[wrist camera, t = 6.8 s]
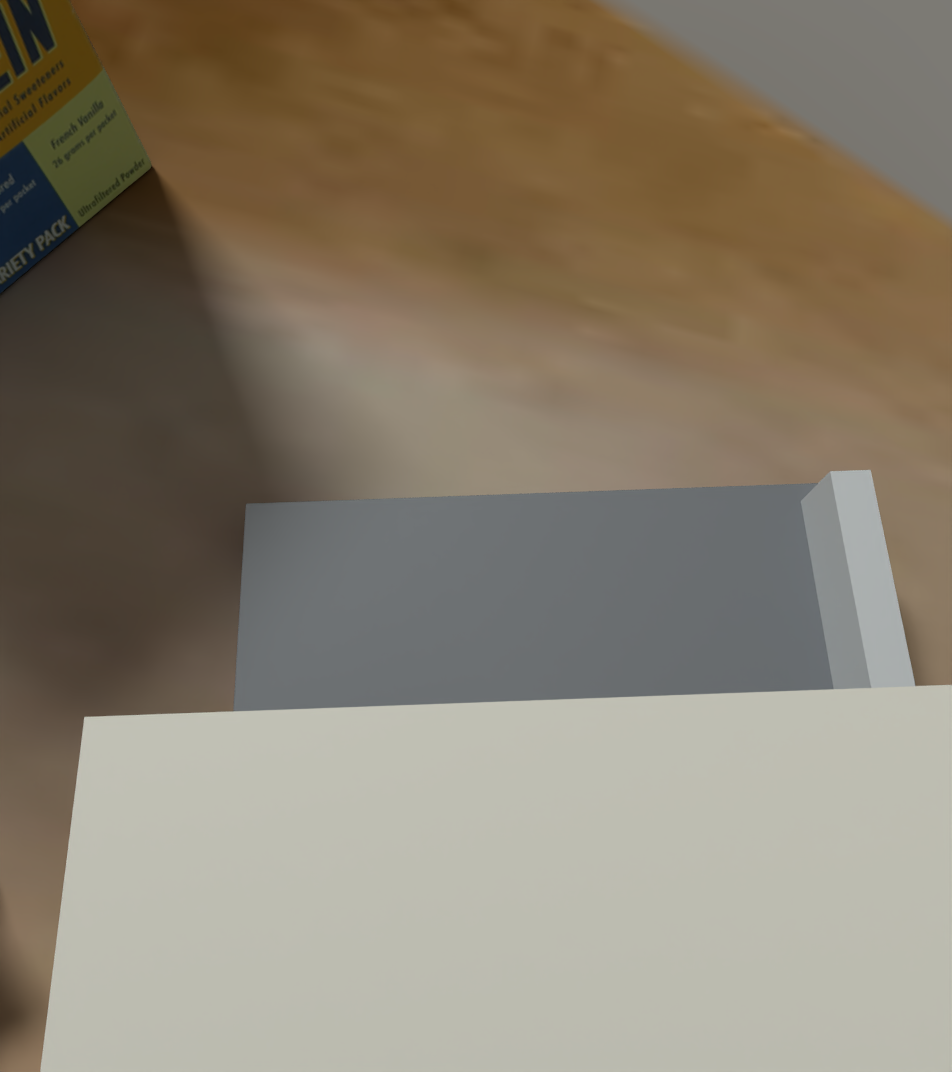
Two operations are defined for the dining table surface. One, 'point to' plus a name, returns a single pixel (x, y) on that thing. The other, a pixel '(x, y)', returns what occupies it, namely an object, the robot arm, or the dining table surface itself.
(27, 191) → the protein box
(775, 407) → the dining table surface
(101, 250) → the dining table surface
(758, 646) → the shelf board
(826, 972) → the tea box
